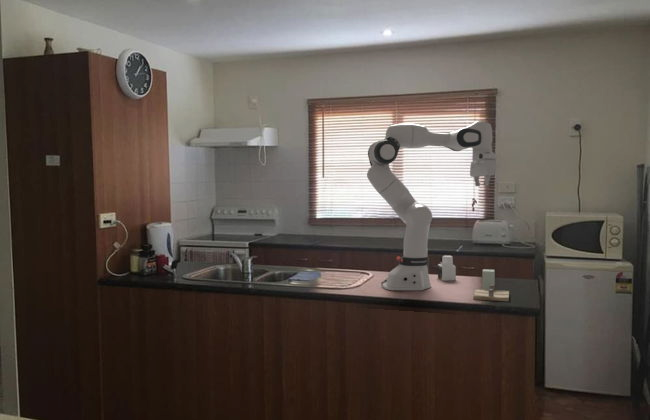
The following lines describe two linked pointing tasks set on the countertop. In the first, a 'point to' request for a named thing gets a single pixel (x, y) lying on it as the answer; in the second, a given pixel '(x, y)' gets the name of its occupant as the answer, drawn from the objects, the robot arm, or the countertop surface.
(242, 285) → the countertop surface
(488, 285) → the block
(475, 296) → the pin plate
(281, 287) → the countertop surface
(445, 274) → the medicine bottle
